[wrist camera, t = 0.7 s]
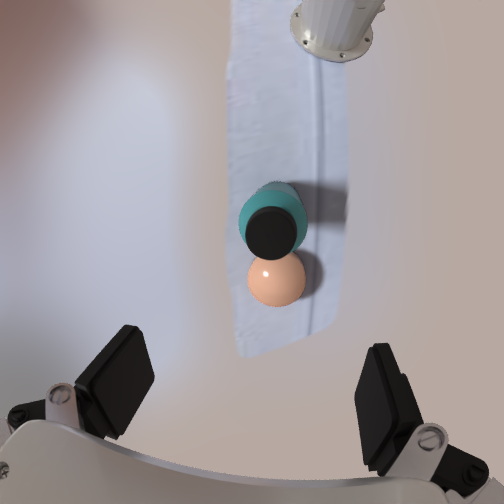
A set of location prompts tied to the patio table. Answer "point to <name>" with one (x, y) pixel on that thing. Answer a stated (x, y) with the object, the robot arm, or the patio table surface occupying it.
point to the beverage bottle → (273, 221)
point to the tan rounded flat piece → (277, 280)
